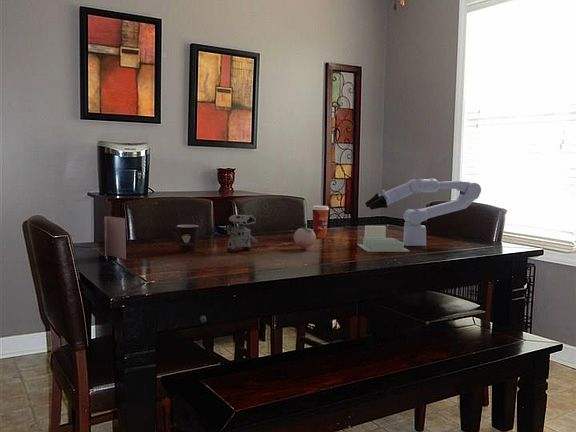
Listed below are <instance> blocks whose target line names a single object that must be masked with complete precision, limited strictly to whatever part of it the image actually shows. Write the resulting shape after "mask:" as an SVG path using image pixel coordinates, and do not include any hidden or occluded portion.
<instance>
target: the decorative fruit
mask: <svg viewBox="0 0 576 432" xmlns="http://www.w3.org/2000/svg"><path fill="white" fill-rule="evenodd" d="M316 239H317V238H316V235H315V233H314V232H313V229H311V228H308V227H299V228H297V229H296V230H295V232H294V233H293V240H294V243H296V245H297V246H298V247H299V248H301V250H307V249H309V248H311V247H312V246H313V245H314V244H315V241H316Z"/></svg>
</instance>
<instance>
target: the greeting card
mask: <svg viewBox="0 0 576 432" xmlns="http://www.w3.org/2000/svg"><path fill="white" fill-rule="evenodd" d="M102 224H103V227H104V257H105V256H106V257H105V259H107V260H108V256H107V255H109V256H113V257H112V258H114V257H117V258H116V259H120V258H122V260H127V250H126V249H127V247H126V246H127V245H126V218H125V217H119V216H118V217H117V216H116V217H115V216H109V215H108V216H107V215H104V220H103V219H102Z"/></svg>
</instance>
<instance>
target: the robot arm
mask: <svg viewBox="0 0 576 432" xmlns="http://www.w3.org/2000/svg"><path fill="white" fill-rule="evenodd" d="M439 190H456V191H458V193H459V194H458V197H457V198H456V199H455V200H449V201H445V202H443V203H439V204H435V205H431V206H428V207H424V208H417V209H411V208H409V209H406V210H405V211H404V212H403V214H402V215H403V220H404V221H405V222H404V223H403V241H402V242H404V247H405V246H406V247H410V246H411V247H412V246H417V247H421V246H422V247H423V246H427V244H426V243H427V228H426V226H425V225H423V224H422V225H421V223H423V222H425V221H427V220H428V219H431V218H436V217H438V216H442V215H443V216H444V215H446V214H450V213H453V212H458V211H461V210H465V209H467V208H468V207H470V205H471V204H472V203H473V202H474V201H476V200H477V199H479V197H480V195H481V192H482V188H481V185H480V184H479V183H477V182H470V181H461V180H451V181H449V180H448V181H438V180H437V179H436V178H434V177H430V178H427V179H425V178H424V179H423V178H418V179H409V180H408V181H407V182H405V183H404V184H400V185H398V186H396V187H394V188H391V189H389V190H386V191H385V189H382V191H381V192H382V193H381V194H379V193H378V192H376V193H375V194H374V195H373V196H372V198H370V199H369V200H367V201H366V202H365V203H364V204H365V206H366V208H369V209H370V210H372V211H373V210H377V209H382V208H384V209H387V208H388V206H389V205H390V204H392V203H395V202H397V201H400V200H402V199H404V198H407V197H409V196H410V195H413V194H414V193H415V194H416V193H417V194H420V193H436V192H438V191H439Z"/></svg>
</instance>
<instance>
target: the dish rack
mask: <svg viewBox="0 0 576 432" xmlns="http://www.w3.org/2000/svg"><path fill="white" fill-rule="evenodd" d="M357 246H358V247H360V248H361V249H363V250H364V251H366V252H367V253H369V252H370V253H373V252H374V253H379V252H380V253H381V252H383V253H384V252H386V253H387V252H388V253H389V252H390V253H391V252H393V253H400V252H401V253H403V252H404V253H407V252H408V253H410V250H409V249H407V248H406V247H405V245H404V242H403V241H401V240H399V239H397V238H395V237H386V238H365V237H363V238H362V243H357Z"/></svg>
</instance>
